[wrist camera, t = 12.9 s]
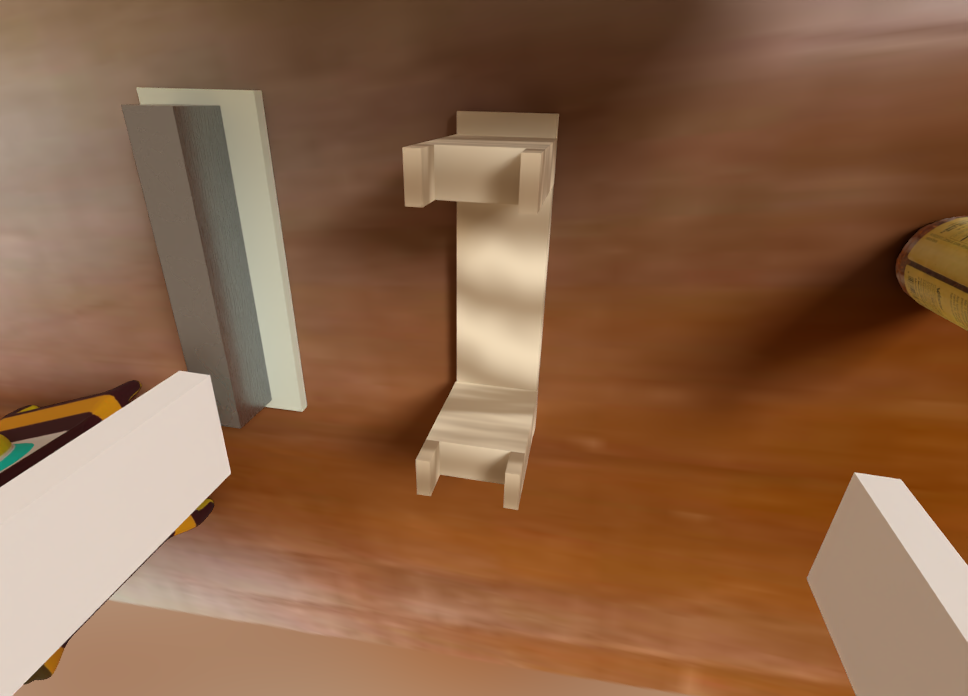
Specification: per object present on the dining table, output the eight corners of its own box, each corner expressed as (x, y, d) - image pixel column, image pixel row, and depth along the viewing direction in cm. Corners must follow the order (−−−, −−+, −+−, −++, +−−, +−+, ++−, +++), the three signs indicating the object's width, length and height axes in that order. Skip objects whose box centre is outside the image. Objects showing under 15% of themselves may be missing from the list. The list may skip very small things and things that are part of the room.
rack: (459, 110, 38) (401, 115, 27) (560, 113, 36) (543, 120, 25) (458, 417, 49) (417, 510, 38) (536, 427, 48) (516, 526, 37)
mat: (146, 87, 41) (136, 87, 40) (261, 90, 40) (253, 90, 39) (216, 394, 54) (210, 399, 53) (307, 406, 52) (302, 411, 51)
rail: (173, 104, 40) (121, 104, 36) (220, 105, 40) (172, 106, 35) (235, 394, 52) (200, 422, 47) (272, 399, 51) (240, 428, 47)
